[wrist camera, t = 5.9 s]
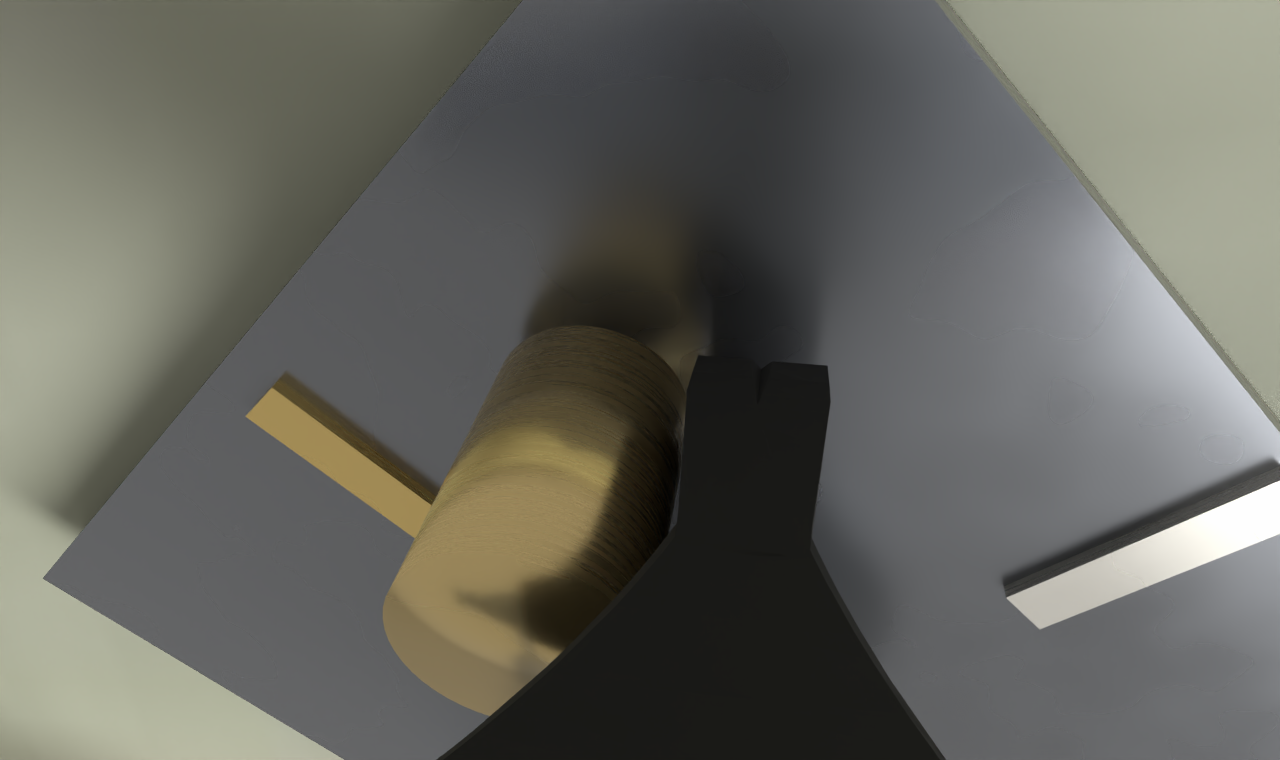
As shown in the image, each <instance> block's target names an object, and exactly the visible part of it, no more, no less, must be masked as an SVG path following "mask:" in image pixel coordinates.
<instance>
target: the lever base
mask: <svg viewBox="0 0 1280 760" xmlns="http://www.w3.org/2000/svg"><path fill="white" fill-rule="evenodd" d="M575 325H576V326H592V327H599V328H604V329H608V330H612V331H615V332H618V333H621V334H623V335H626V336H629V337H631V338H633V339H635V340H636V341H638V342H640V343H642V344H644V345H645V346H647V347H648V348H650V349H651V350H653V351H654V352H655V353H656V354H657V355H659V356H660V357H661V358H662V359H663V360H664V361H665V362H666V363H667V364H668V365H669V366H670V367H671V369H672V370H673V371H674V373H675V374H676V375H677V377H678V378H679V380H680V382H681V384H682V386H683V388H684V390H685V393H686V396H687V388H688V385H689V382H690V378H691V375H692V372H693V369H694V366H695V363H696V360H697V357H698V355H701V356H713V357H726V358H738V359H751V360H753V361H754V362H755V363H756V364H757V365H758V366H759V367H760V368H761V369H762V368H763V367H765V366H766V365H768V364H769V363H771V362H772V361H776V362H789V363H801V364H814V365H826V366H828V375H829V385H830V400H831V403H830V410H829V418H828V425H827V432H826V440H825V447H824V454H823V462H822V469H821V476H820V484H819V491H818V498H817V506H816V513H815V520H814V528H813V535H812V539H813V541H814V544H815V546H816V548H817V550H818V552H819V554H820V556H821V558H822V560H823V562H824V564H825V566H826V568H827V571H828V573H829V574H830V576H831V578H832V580H833V582H834V584H835V586H836V588H837V590H838V592H839V594H840V595H841V597H842V599H843V601H844V603H845V604H846V606H847V608H848V610H849V611H850V613H851V615H852V617H853V619H854V620H855V622H856V624H857V626H858V627H859V629H860V631H861V633H862V634H863V636H864V637H865V639H866V641H867V642H868V644H869V646H870V647H871V649H872V651H873V652H874V654H875V655H876V657H877V659H878V660H879V662H880V664H881V665H882V667H883V669H884V670H885V672H886V673H887V675H888V677H889V678H890V680H891V681H892V683H893V684H894V685H895V687H896V688H897V690H898V691H899V693H900V694H901V696H902V697H903V698H904V700H905V701H906V703H907V704H908V706H909V707H910V708H911V710H912V711H913V713H914V714H915V716H916V717H917V719H918V720H919V721H920V723H921V724H922V726H923V727H924V729H925V730H926V732H927V733H928V734H929V736H930V737H931V739H932V740H933V742H934V743H935V744H936V746H937V747H938V749H939V750H940V752H941V753H942V755H943V756H944V757H945V759H946V760H1280V421H1279V420H1278V418H1277V417H1276V416H1275V415H1274V413H1273V412H1272V411H1271V410H1270V408H1269V407H1268V406H1267V405H1266V403H1265V402H1264V401H1263V399H1262V398H1261V397H1260V396H1259V394H1258V393H1257V392H1256V391H1255V389H1254V388H1253V387H1252V386H1251V384H1250V383H1249V382H1248V381H1247V379H1246V378H1245V377H1244V376H1243V374H1242V373H1241V372H1240V370H1239V369H1238V368H1237V367H1236V365H1235V364H1234V363H1233V362H1232V360H1231V359H1230V358H1229V357H1228V355H1227V354H1226V353H1225V352H1224V350H1223V349H1222V348H1221V346H1220V345H1219V344H1218V343H1217V341H1216V340H1215V339H1214V338H1213V336H1212V335H1211V334H1210V333H1209V331H1208V330H1207V329H1206V328H1205V326H1204V325H1203V324H1202V323H1201V321H1200V320H1199V319H1198V317H1197V316H1196V315H1195V314H1194V312H1193V311H1192V310H1191V309H1190V307H1189V306H1188V305H1187V304H1186V302H1185V301H1184V300H1183V299H1182V297H1181V296H1180V295H1179V294H1178V292H1177V291H1176V290H1175V288H1174V287H1173V286H1172V285H1171V283H1170V282H1169V281H1168V280H1167V278H1166V277H1165V276H1164V275H1163V273H1162V272H1161V271H1160V270H1159V268H1158V267H1157V266H1156V264H1155V263H1154V262H1153V261H1152V259H1151V258H1150V257H1149V256H1148V254H1147V253H1146V252H1145V251H1144V249H1143V248H1142V247H1141V246H1140V244H1139V243H1138V242H1137V241H1136V239H1135V238H1134V237H1133V235H1132V234H1131V233H1130V232H1129V230H1128V229H1127V228H1126V227H1125V225H1124V224H1123V223H1122V222H1121V220H1120V219H1119V218H1118V217H1117V215H1116V214H1115V213H1114V212H1113V210H1112V209H1111V208H1110V206H1109V205H1108V204H1107V203H1106V201H1105V200H1104V199H1103V198H1102V196H1101V195H1100V194H1099V193H1098V191H1097V190H1096V189H1095V188H1094V186H1093V185H1092V184H1091V182H1090V181H1089V180H1088V179H1087V177H1086V176H1085V175H1084V174H1083V172H1082V171H1081V170H1080V169H1079V167H1078V166H1077V165H1076V164H1075V162H1074V161H1073V160H1072V159H1071V157H1070V156H1069V155H1068V153H1067V152H1066V151H1065V150H1064V148H1063V147H1062V146H1061V145H1060V143H1059V142H1058V141H1057V140H1056V138H1055V137H1054V136H1053V135H1052V133H1051V132H1050V131H1049V130H1048V128H1047V127H1046V126H1045V124H1044V123H1043V122H1042V121H1041V119H1040V118H1039V117H1038V116H1037V114H1036V113H1035V112H1034V111H1033V109H1032V108H1031V107H1030V106H1029V104H1028V103H1027V102H1026V101H1025V99H1024V98H1023V97H1022V95H1021V94H1020V93H1019V92H1018V90H1017V89H1016V88H1015V87H1014V85H1013V84H1012V83H1011V82H1010V80H1009V79H1008V78H1007V77H1006V75H1005V74H1004V73H1003V71H1002V70H1001V69H1000V68H999V66H998V65H997V64H996V63H995V61H994V60H993V59H992V58H991V56H990V55H989V54H988V53H987V51H986V50H985V49H984V48H983V46H982V45H981V44H980V42H979V41H978V40H977V39H976V37H975V36H974V35H973V34H972V32H971V31H970V30H969V29H968V27H967V26H966V25H965V24H964V22H963V21H962V20H961V19H960V17H959V16H958V15H957V13H956V12H955V11H954V10H953V8H952V7H951V6H950V5H949V3H948V2H947V1H946V0H523V1H522V2H521V3H520V4H519V5H518V7H517V8H516V9H515V10H514V11H513V13H512V14H511V15H510V16H509V17H508V19H507V20H506V21H505V22H504V23H503V25H502V26H501V27H500V28H499V29H498V31H497V32H496V33H495V34H494V35H493V37H492V38H491V39H490V40H489V41H488V43H487V44H486V45H485V46H484V47H483V49H482V50H481V51H480V52H479V54H478V55H477V56H476V57H475V58H474V60H473V61H472V62H471V63H470V64H469V66H468V67H467V68H466V69H465V70H464V72H463V73H462V74H461V75H460V76H459V78H458V79H457V80H456V81H455V82H454V84H453V85H452V86H451V87H450V88H449V90H448V91H447V92H446V93H445V94H444V96H443V97H442V98H441V99H440V100H439V102H438V103H437V104H436V105H435V107H434V108H433V109H432V110H431V111H430V113H429V114H428V115H427V116H426V117H425V119H424V120H423V121H422V122H421V123H420V125H419V126H418V127H417V128H416V129H415V131H414V132H413V133H412V134H411V135H410V137H409V138H408V139H407V140H406V141H405V143H404V144H403V145H402V146H401V147H400V149H399V150H398V151H397V152H396V153H395V155H394V156H393V157H392V158H391V159H390V161H389V162H388V163H387V164H386V166H385V167H384V168H383V169H382V170H381V172H380V173H379V174H378V175H377V176H376V178H375V179H374V180H373V181H372V182H371V184H370V185H369V186H368V187H367V188H366V190H365V191H364V192H363V193H362V194H361V196H360V197H359V198H358V199H357V200H356V202H355V203H354V204H353V205H352V206H351V208H350V209H349V210H348V211H347V212H346V214H345V215H344V216H343V217H342V219H341V220H340V221H339V222H338V223H337V225H336V226H335V227H334V228H333V229H332V231H331V232H330V233H329V234H328V235H327V237H326V238H325V239H324V240H323V241H322V243H321V244H320V245H319V246H318V247H317V249H316V250H315V251H314V252H313V253H312V255H311V256H310V257H309V258H308V259H307V261H306V262H305V263H304V264H303V265H302V267H301V268H300V269H299V270H298V272H297V273H296V274H295V275H294V276H293V278H292V279H291V280H290V281H289V282H288V284H287V285H286V286H285V287H284V288H283V290H282V291H281V292H280V293H279V294H278V296H277V297H276V298H275V299H274V300H273V302H272V303H271V304H270V305H269V306H268V308H267V309H266V310H265V311H264V312H263V314H262V315H261V316H260V317H259V318H258V320H257V321H256V322H255V323H254V324H253V326H252V327H251V328H250V329H249V331H248V332H247V333H246V334H245V335H244V337H243V338H242V339H241V340H240V341H239V343H238V344H237V345H236V346H235V347H234V349H233V350H232V351H231V352H230V353H229V355H228V356H227V357H226V358H225V359H224V361H223V362H222V363H221V364H220V365H219V367H218V368H217V369H216V370H215V371H214V373H213V374H212V375H211V376H210V377H209V379H208V380H207V381H206V382H205V384H204V385H203V386H202V387H201V388H200V390H199V391H198V392H197V393H196V394H195V396H194V397H193V398H192V399H191V400H190V402H189V403H188V404H187V405H186V406H185V408H184V409H183V410H182V411H181V412H180V414H179V415H178V416H177V417H176V418H175V420H174V421H173V422H172V423H171V424H170V426H169V427H168V428H167V429H166V430H165V432H164V433H163V434H162V435H161V436H160V438H159V439H158V440H157V441H156V443H155V444H154V445H153V446H152V447H151V449H150V450H149V451H148V452H147V453H146V455H145V456H144V457H143V458H142V459H141V461H140V462H139V463H138V464H137V465H136V467H135V468H134V469H133V470H132V471H131V473H130V474H129V475H128V476H127V477H126V479H125V480H124V481H123V482H122V483H121V485H120V486H119V487H118V488H117V489H116V491H115V492H114V493H113V494H112V496H111V497H110V498H109V499H108V500H107V502H106V503H105V504H104V505H103V506H102V508H101V509H100V510H99V511H98V512H97V514H96V515H95V516H94V517H93V518H92V520H91V521H90V522H89V523H88V524H87V526H86V527H85V528H84V529H83V530H82V532H81V533H80V534H79V535H78V536H77V538H76V539H75V540H74V541H73V542H72V544H71V545H70V546H69V547H68V548H67V550H66V551H65V552H64V553H63V555H62V556H61V557H60V558H59V559H58V561H57V562H56V563H55V564H54V565H53V567H52V568H51V569H50V570H49V571H48V573H47V574H46V575H45V576H44V577H43V579H44V580H46V581H48V582H49V583H51V584H53V585H54V586H56V587H58V588H59V589H61V590H63V591H64V592H66V593H68V594H69V595H71V596H73V597H74V598H76V599H78V600H79V601H81V602H83V603H84V604H86V605H88V606H89V607H91V608H93V609H94V610H96V611H98V612H99V613H101V614H103V615H104V616H106V617H108V618H109V619H111V620H113V621H114V622H116V623H118V624H119V625H121V626H123V627H124V628H126V629H128V630H129V631H131V632H133V633H134V634H136V635H138V636H139V637H141V638H143V639H144V640H146V641H148V642H149V643H151V644H153V645H154V646H156V647H158V648H159V649H161V650H163V651H164V652H166V653H168V654H169V655H171V656H173V657H174V658H176V659H178V660H179V661H181V662H183V663H184V664H186V665H188V666H189V667H191V668H193V669H194V670H196V671H198V672H199V673H201V674H203V675H204V676H206V677H208V678H209V679H211V680H213V681H214V682H216V683H218V684H219V685H221V686H223V687H224V688H226V689H228V690H229V691H231V692H233V693H234V694H236V695H238V696H239V697H241V698H243V699H244V700H246V701H248V702H249V703H251V704H253V705H254V706H256V707H258V708H259V709H261V710H263V711H264V712H266V713H268V714H269V715H271V716H273V717H274V718H276V719H278V720H279V721H281V722H283V723H284V724H286V725H288V726H289V727H291V728H293V729H294V730H296V731H298V732H299V733H301V734H303V735H304V736H306V737H308V738H309V739H311V740H313V741H314V742H316V743H318V744H319V745H321V746H323V747H324V748H326V749H328V750H329V751H331V752H333V753H334V754H336V755H338V756H339V757H341V758H343V759H344V760H436V759H438V758H439V757H440V756H442V755H443V754H444V753H446V752H447V751H448V750H450V749H451V748H452V747H453V746H455V745H456V744H457V743H458V742H460V741H461V740H462V739H463V738H465V737H466V736H467V735H468V734H470V733H471V732H472V731H473V730H475V729H476V728H477V727H478V726H479V725H480V724H481V723H483V722H484V721H485V720H486V719H487V718H488V717H489V716H488V715H485V714H482V713H479V712H476V711H474V710H471V709H469V708H467V707H464V706H462V705H460V704H458V703H456V702H454V701H452V700H450V699H448V698H446V697H445V696H443V695H442V694H440V693H438V692H437V691H435V690H433V689H432V688H431V687H429V686H428V685H427V684H425V683H424V682H423V681H421V680H420V679H419V678H418V677H417V676H416V675H415V674H414V673H412V672H411V671H410V670H409V668H408V667H407V666H406V665H405V664H404V663H403V662H402V661H401V659H400V658H399V657H398V655H397V654H396V652H395V651H394V649H393V648H392V646H391V644H390V642H389V640H388V638H387V635H386V632H385V629H384V624H383V605H384V601H385V597H386V595H387V593H388V591H389V589H390V587H391V585H392V583H393V581H394V579H395V577H396V575H397V573H398V571H399V569H400V567H401V565H402V563H403V562H404V560H405V558H406V556H407V554H408V552H409V550H410V548H411V546H412V544H413V542H414V540H415V538H416V536H417V534H418V532H419V530H420V528H421V526H422V524H423V522H424V520H425V518H426V516H427V514H428V512H429V510H430V508H431V506H432V504H433V502H434V500H435V498H436V496H437V494H438V492H439V490H440V488H441V486H442V484H443V482H444V480H445V478H446V476H447V474H448V472H449V470H450V468H451V466H452V464H453V462H454V460H455V458H456V456H457V454H458V452H459V450H460V448H461V446H462V444H463V442H464V440H465V438H466V436H467V434H468V432H469V430H470V428H471V426H472V424H473V422H474V420H475V419H476V417H477V415H478V413H479V411H480V409H481V407H482V405H483V403H484V401H485V399H486V397H487V395H488V393H489V391H490V389H491V387H492V385H493V383H494V381H495V379H496V377H497V375H498V373H499V371H500V369H501V367H502V365H503V363H504V361H505V359H506V358H507V357H508V355H509V354H510V353H511V351H513V350H514V349H515V348H516V347H517V346H518V345H519V344H520V343H522V342H523V341H524V340H526V339H527V338H529V337H531V336H533V335H535V334H537V333H539V332H542V331H545V330H548V329H552V328H557V327H562V326H575ZM680 479H681V473H680V478H679V483H678V488H677V493H676V499H675V504H674V509H673V514H672V519H671V525H670V530H669V533H670V531H671V530H672V529H673V527H674V526H675V524H676V523H677V517H678V507H679V493H680Z"/></svg>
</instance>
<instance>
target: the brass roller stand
mask: <svg viewBox="0 0 1280 760" xmlns="http://www.w3.org/2000/svg"><path fill="white" fill-rule="evenodd" d="M686 397H687V396H686V393H685V390H684V388H683V386H682V384H681V382H680V380H679V378H678V377H677V375H676V374H675V373H674V371H673V370H672V369H671V367H670V366H669V365H668V364H667V363H666V362H665V361H664V360H663V359H662V358H661V357H660V356H659V355H657V354H656V353H655V352H654V351H653V350H651V349H650V348H648V347H647V346H645V345H644V344H642V343H640V342H638V341H636V340H635V339H633V338H631V337H629V336H626V335H623V334H621V333H618V332H615V331H612V330H608V329H604V328H599V327H592V326H576V325H575V326H562V327H557V328H552V329H548V330H545V331H542V332H539V333H537V334H535V335H533V336H531V337H529V338H527V339H526V340H524V341H523V342H522V343H520V344H519V345H518V346H517V347H516V348H515V349H514V350H513V351H511V353H510V354H509V355H508V357H507V358H506V359H505V361H504V363H503V365H502V367H501V369H500V371H499V373H498V375H497V377H496V379H495V381H494V383H493V385H492V387H491V389H490V391H489V393H488V395H487V397H486V399H485V401H484V403H483V405H482V407H481V409H480V411H479V413H478V415H477V417H476V419H475V420H474V422H473V424H472V426H471V428H470V430H469V432H468V434H467V436H466V438H465V440H464V442H463V444H462V446H461V448H460V450H459V452H458V454H457V456H456V458H455V460H454V462H453V464H452V466H451V468H450V470H449V472H448V474H447V476H446V478H445V480H444V482H443V484H442V486H441V488H440V490H439V492H438V494H437V496H436V498H435V500H434V502H433V504H432V506H431V508H430V510H429V512H428V514H427V516H426V518H425V520H424V522H423V524H422V526H421V528H420V530H419V532H418V534H417V536H416V538H415V540H414V542H413V544H412V546H411V548H410V550H409V552H408V554H407V556H406V558H405V560H404V562H403V563H402V565H401V567H400V569H399V571H398V573H397V575H396V577H395V579H394V581H393V583H392V585H391V587H390V589H389V591H388V593H387V595H386V597H385V601H384V605H383V624H384V629H385V632H386V635H387V638H388V640H389V642H390V644H391V646H392V648H393V649H394V651H395V652H396V654H397V655H398V657H399V658H400V659H401V661H402V662H403V663H404V664H405V665H406V666H407V667H408V668H409V670H410V671H411V672H412V673H414V674H415V675H416V676H417V677H418V678H419V679H420V680H421V681H423V682H424V683H425V684H427V685H428V686H429V687H431V688H432V689H433V690H435V691H437V692H438V693H440V694H442V695H443V696H445V697H446V698H448V699H450V700H452V701H454V702H456V703H458V704H460V705H462V706H464V707H467V708H469V709H471V710H474V711H476V712H479V713H482V714H485V715H488V716H491V715H492V714H493V713H494V712H495V711H496V710H497V709H499V708H500V707H501V706H502V705H503V704H504V703H506V702H507V701H508V700H509V699H510V698H511V697H512V696H514V695H515V694H516V693H517V692H518V691H519V690H520V689H522V688H523V687H524V686H525V685H526V684H527V683H529V682H530V681H531V680H532V679H533V678H534V677H535V676H537V675H538V674H539V673H540V672H541V671H542V670H543V669H545V668H546V667H547V666H548V665H549V664H550V663H551V662H552V661H553V660H554V659H555V658H556V657H557V656H558V655H559V654H560V653H561V652H562V651H564V650H565V649H566V648H567V647H568V646H569V645H570V644H571V643H572V642H573V641H574V640H575V639H576V638H577V637H578V636H579V635H580V634H581V633H582V632H583V631H584V629H585V628H586V627H587V626H588V625H589V624H590V623H591V622H592V621H593V620H594V619H595V618H596V617H597V616H598V615H599V614H600V613H601V612H602V611H603V610H604V609H605V608H606V607H607V606H608V605H609V604H610V602H611V601H612V600H613V599H614V598H615V597H616V596H617V595H618V594H619V593H620V592H621V591H622V589H623V588H624V587H625V586H626V585H627V584H628V582H629V581H630V580H631V579H632V578H633V577H634V576H635V574H636V573H637V572H638V571H639V570H640V569H641V568H642V566H643V565H644V564H645V563H646V561H647V560H648V559H649V558H650V557H651V555H652V554H653V553H654V552H655V550H656V549H657V548H658V547H659V545H660V544H661V543H662V542H663V540H664V539H665V538H666V537H667V535H668V534H669V530H670V525H671V519H672V514H673V509H674V504H675V499H676V493H677V488H678V483H679V478H680V473H681V465H682V452H683V438H684V424H685V411H686Z"/></svg>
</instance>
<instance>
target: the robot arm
mask: <svg viewBox="0 0 1280 760" xmlns="http://www.w3.org/2000/svg"><path fill="white" fill-rule="evenodd" d="M830 403H831V400H830V385H829V375H828V366H826V365H814V364H801V363H789V362H776V361H772V362H771V363H769V364H768V365H766V366H765V367H763V368H762V369H761V368H760V367H759V366H758V365H757V364H756V363H755V362H754V361H753V360H751V359H738V358H726V357H713V356H701V355H698V357H697V360H696V363H695V366H694V369H693V372H692V375H691V378H690V382H689V385H688V388H687V397H686V411H685V424H684V438H683V452H682V465H681V479H680V493H679V507H678V517H677V523H676V524H675V526H674V527H673V529H672V530H671V531H670V533H669V534H668V535H667V537H666V538H665V539H664V540H663V542H662V543H661V544H660V545H659V547H658V548H657V549H656V550H655V552H654V553H653V554H652V555H651V557H650V558H649V559H648V560H647V561H646V563H645V564H644V565H643V566H642V568H641V569H640V570H639V571H638V572H637V573H636V574H635V576H634V577H633V578H632V579H631V580H630V581H629V582H628V584H627V585H626V586H625V587H624V588H623V589H622V591H621V592H620V593H619V594H618V595H617V596H616V597H615V598H614V599H613V600H612V601H611V602H610V604H609V605H608V606H607V607H606V608H605V609H604V610H603V611H602V612H601V613H600V614H599V615H598V616H597V617H596V618H595V619H594V620H593V621H592V622H591V623H590V624H589V625H588V626H587V627H586V628H585V629H584V631H583V632H582V633H581V634H580V635H579V636H578V637H577V638H576V639H575V640H574V641H573V642H572V643H571V644H570V645H569V646H568V647H567V648H566V649H565V650H564V651H562V652H561V653H560V654H559V655H558V656H557V657H556V658H555V659H554V660H553V661H552V662H551V663H550V664H549V665H548V666H547V667H546V668H545V669H543V670H542V671H541V672H540V673H539V674H538V675H537V676H535V677H534V678H533V679H532V680H531V681H530V682H529V683H527V684H526V685H525V686H524V687H523V688H522V689H520V690H519V691H518V692H517V693H516V694H515V695H514V696H512V697H511V698H510V699H509V700H508V701H507V702H506V703H504V704H503V705H502V706H501V707H500V708H499V709H497V710H496V711H495V712H494V713H493V714H492V715H491V716H489V717H488V718H487V719H486V720H485V721H484V722H483V723H481V724H480V725H479V726H478V727H477V728H476V729H475V730H473V731H472V732H471V733H470V734H468V735H467V736H466V737H465V738H463V739H462V740H461V741H460V742H458V743H457V744H456V745H455V746H453V747H452V748H451V749H450V750H448V751H447V752H446V753H444V754H443V755H442V756H440V757H439V758H438V759H436V760H946V759H945V757H944V756H943V755H942V753H941V752H940V750H939V749H938V747H937V746H936V744H935V743H934V742H933V740H932V739H931V737H930V736H929V734H928V733H927V732H926V730H925V729H924V727H923V726H922V724H921V723H920V721H919V720H918V719H917V717H916V716H915V714H914V713H913V711H912V710H911V708H910V707H909V706H908V704H907V703H906V701H905V700H904V698H903V697H902V696H901V694H900V693H899V691H898V690H897V688H896V687H895V685H894V684H893V683H892V681H891V680H890V678H889V677H888V675H887V673H886V672H885V670H884V669H883V667H882V665H881V664H880V662H879V660H878V659H877V657H876V655H875V654H874V652H873V651H872V649H871V647H870V646H869V644H868V642H867V641H866V639H865V637H864V636H863V634H862V633H861V631H860V629H859V627H858V626H857V624H856V622H855V620H854V619H853V617H852V615H851V613H850V611H849V610H848V608H847V606H846V604H845V603H844V601H843V599H842V597H841V595H840V594H839V592H838V590H837V588H836V586H835V584H834V582H833V580H832V578H831V576H830V574H829V573H828V571H827V568H826V566H825V564H824V562H823V560H822V558H821V556H820V554H819V552H818V550H817V548H816V546H815V544H814V541H813V539H812V535H813V528H814V520H815V513H816V506H817V498H818V491H819V484H820V476H821V469H822V462H823V454H824V447H825V440H826V432H827V425H828V418H829V410H830Z"/></svg>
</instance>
